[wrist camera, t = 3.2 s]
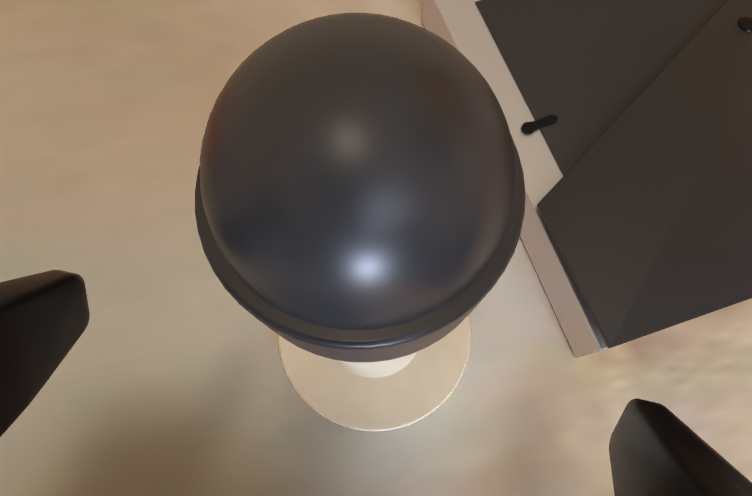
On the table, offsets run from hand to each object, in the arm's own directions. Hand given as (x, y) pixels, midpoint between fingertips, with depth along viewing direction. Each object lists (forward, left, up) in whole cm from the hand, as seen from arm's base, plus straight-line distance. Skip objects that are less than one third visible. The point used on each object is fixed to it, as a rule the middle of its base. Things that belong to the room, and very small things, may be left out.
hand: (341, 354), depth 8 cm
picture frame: (+9, -17, -10) cm, 21 cm away
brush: (+2, -1, -9) cm, 10 cm away
